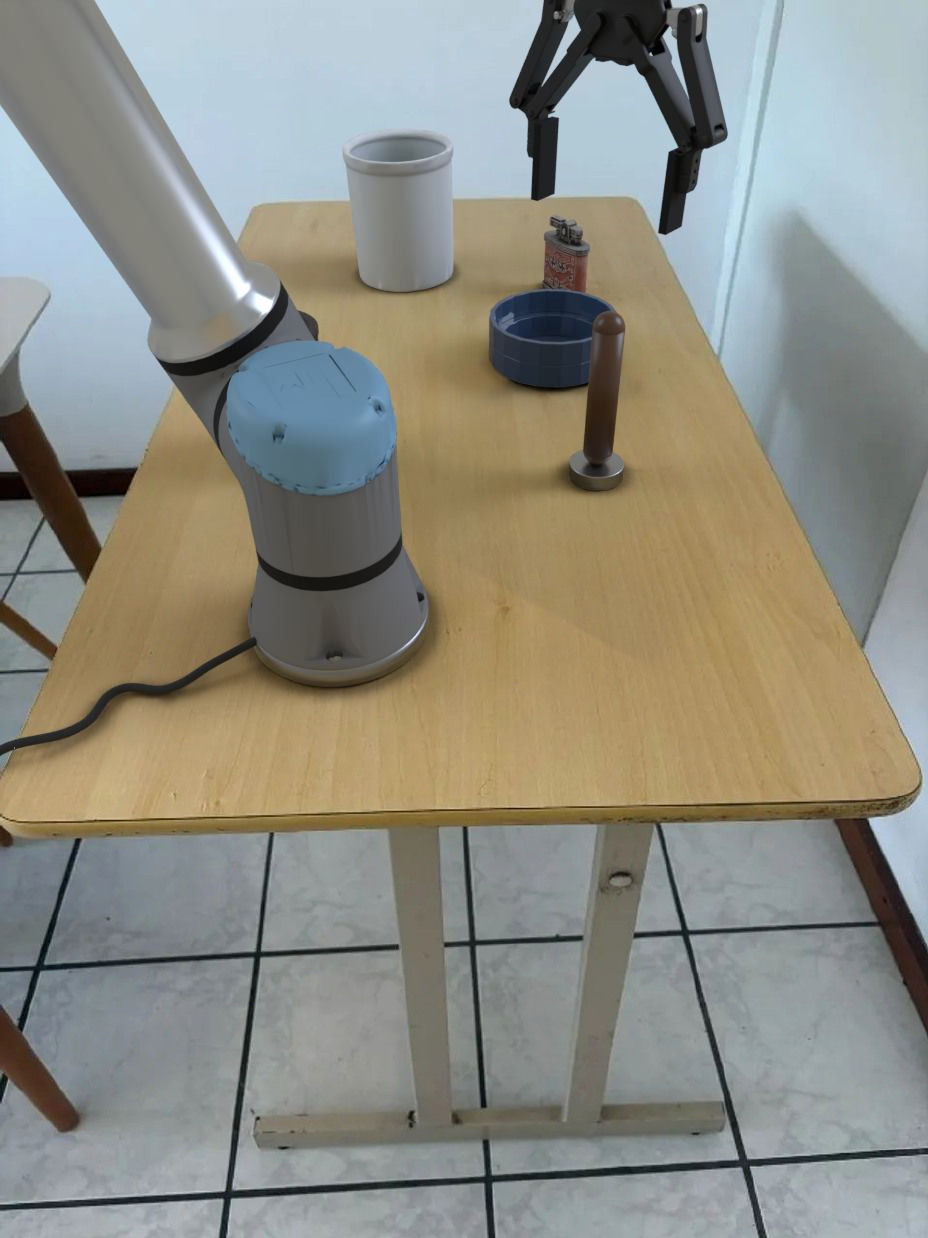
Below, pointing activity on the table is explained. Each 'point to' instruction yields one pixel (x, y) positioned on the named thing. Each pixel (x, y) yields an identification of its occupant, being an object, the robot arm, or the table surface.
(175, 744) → the table surface
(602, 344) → the brown stamp
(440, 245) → the utensil holder
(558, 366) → the bowl
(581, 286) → the lighter
